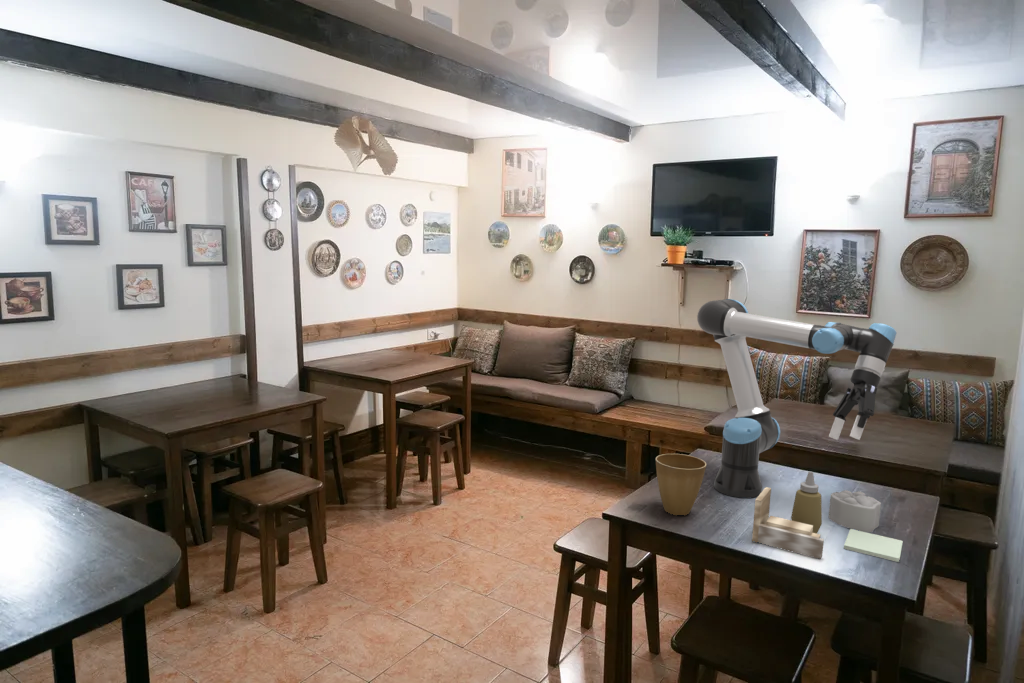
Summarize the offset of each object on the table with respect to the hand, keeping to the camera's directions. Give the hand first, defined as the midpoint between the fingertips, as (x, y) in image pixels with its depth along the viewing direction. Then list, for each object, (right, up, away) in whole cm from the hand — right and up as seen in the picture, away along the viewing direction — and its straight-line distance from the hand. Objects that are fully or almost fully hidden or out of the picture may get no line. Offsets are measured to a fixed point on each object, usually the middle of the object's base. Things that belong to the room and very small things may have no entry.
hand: (843, 438), depth 195 cm
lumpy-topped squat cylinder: (+3, -25, 0) cm, 25 cm away
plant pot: (-48, -23, +5) cm, 54 cm away
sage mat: (0, -27, -16) cm, 31 cm away
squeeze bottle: (-15, -26, -8) cm, 31 cm away
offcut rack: (-22, -26, -14) cm, 37 cm away
